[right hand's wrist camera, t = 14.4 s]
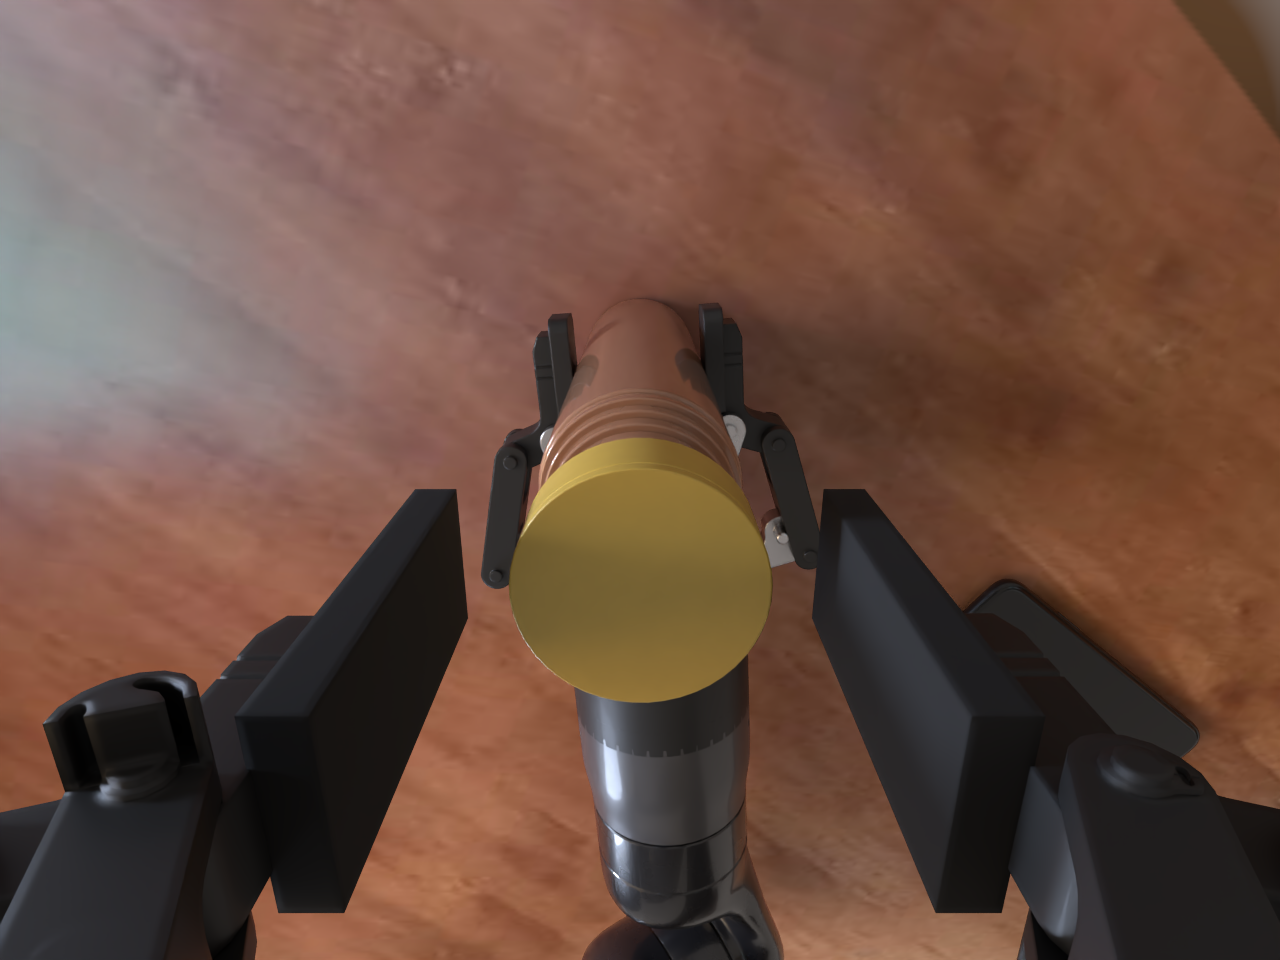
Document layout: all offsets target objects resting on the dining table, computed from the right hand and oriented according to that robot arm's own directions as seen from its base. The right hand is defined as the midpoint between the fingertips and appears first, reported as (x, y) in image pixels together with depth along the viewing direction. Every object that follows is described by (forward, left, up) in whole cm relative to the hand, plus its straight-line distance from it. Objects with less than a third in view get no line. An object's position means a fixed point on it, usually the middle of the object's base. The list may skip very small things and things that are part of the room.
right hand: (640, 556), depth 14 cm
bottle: (0, 0, -21) cm, 21 cm away
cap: (0, 0, +1) cm, 1 cm away
